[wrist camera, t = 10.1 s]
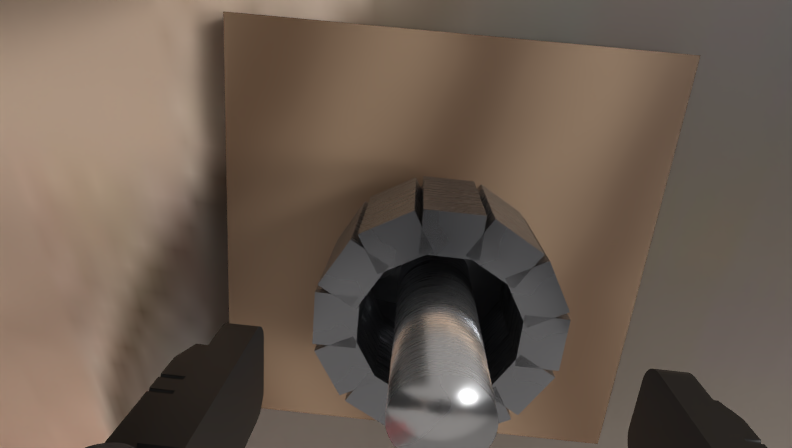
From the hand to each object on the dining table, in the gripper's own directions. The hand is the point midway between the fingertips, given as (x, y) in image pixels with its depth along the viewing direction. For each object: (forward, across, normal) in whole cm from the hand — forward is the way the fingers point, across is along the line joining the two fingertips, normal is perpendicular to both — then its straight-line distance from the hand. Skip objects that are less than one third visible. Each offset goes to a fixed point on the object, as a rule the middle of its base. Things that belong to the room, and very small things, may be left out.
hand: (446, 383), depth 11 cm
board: (+8, 0, 0) cm, 8 cm away
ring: (+5, 0, 0) cm, 5 cm away
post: (+7, 0, 0) cm, 7 cm away
